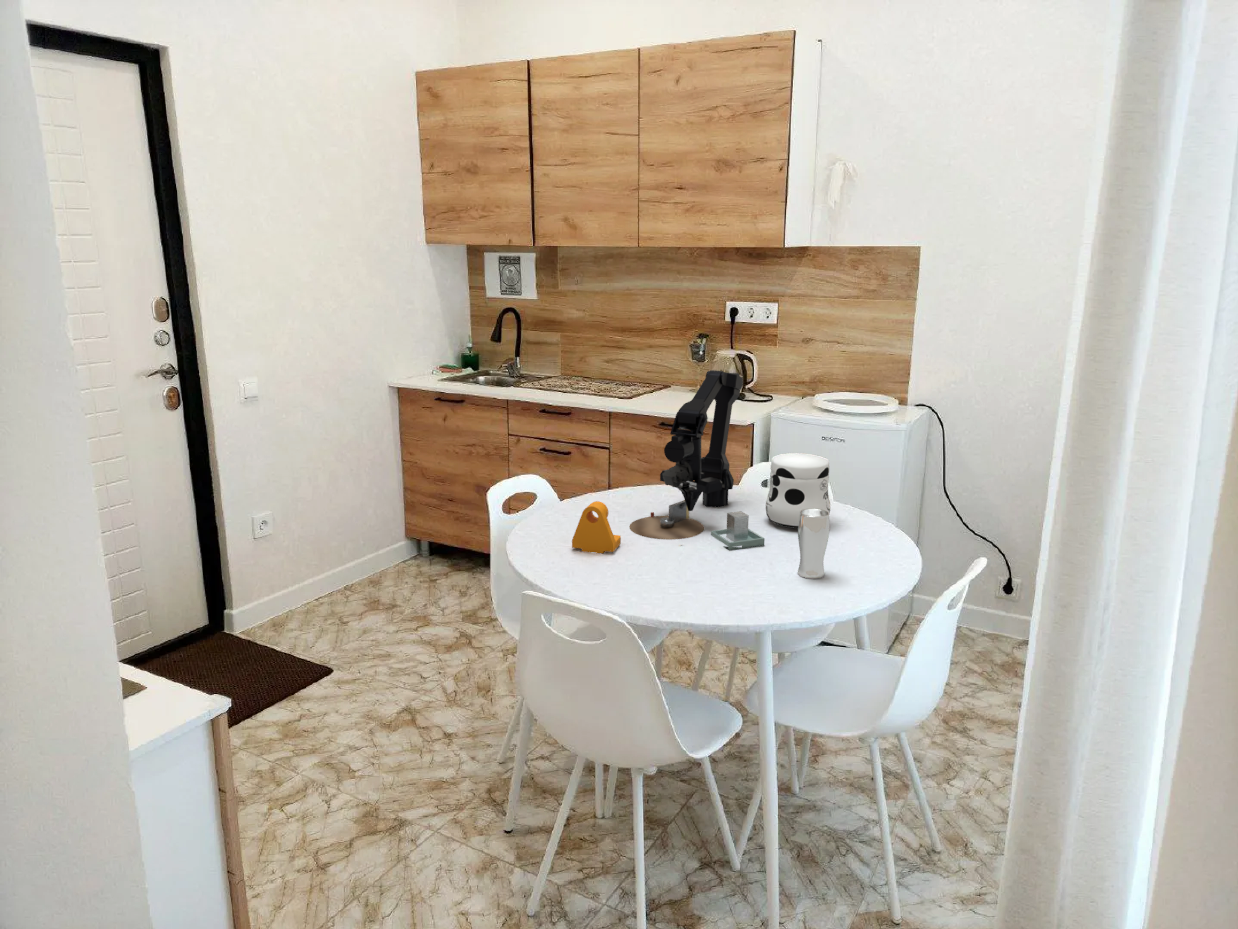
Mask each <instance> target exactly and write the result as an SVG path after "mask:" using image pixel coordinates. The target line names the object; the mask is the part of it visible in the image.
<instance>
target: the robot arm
mask: <svg viewBox="0 0 1238 929" xmlns="http://www.w3.org/2000/svg"><path fill="white" fill-rule="evenodd" d="M743 385H744V380H743V378H742V377H741V375H740V374H739V373H738V372H726V371H724V370H713V369H711V370H707V371H706V373H705V378H704V379H703V381H702V383H701V385H700V387H699V388H698V389H697V391H696V393H695V395H694V396H693V398H692V399H691V400H690V401H687V402H685V403H683V405H682V406H680V408H679V409H678V410H677V412H676V413H675V418H674V420H673V424H672V427H671V430H670V435H671V438H670V439H671V440H670V441H668V442H667V443H666V444H665V446H664V450H663V451H664V452H663V454H664V457H665V459H667V460H668V461H669V462H671V463H675V464H674V466H671V467H670V468H668V469H664V470H662V471H661V472H660V474H659V482H663V483H664V484H665V486H671V487H672V488H676V489H677V490H679V491H680V492H681V494H682V497H683V500H685V502H686V505H687V508H688V511H689V512H693V510H694V509H695V507H696V504H697V502H698V500H699V498H700V497H701V496H702V506H704V507H706V508H724V507H726V506H728V505H729V490H733V487H734V481H735V480H734V477H733V474H732V473H731V470H730V462H729V460H728V458H727V455H726V451H727V444H728V436H729V431H730V430H729V429H730V424H731V415H732V409H733V404H734V403H735V402H736V401H737V400H738V398H739V397H740V393H741V390H742V389H743ZM714 400H715V401H714ZM713 401H714V402H715V407H714V412H713V420H712V425H711V426H712V428H711V435H710V442H709V446H708V447H709V448H708V453H707V454H706V455H705V456H702V436H704V431H705V428H706V425H707V423H708V419H709V418H708V417H709V416H708V414H707V413H708V411H709V408H710V406H711V405H712V403H713Z"/></svg>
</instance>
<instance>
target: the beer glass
mask: <svg viewBox="0 0 1238 929" xmlns="http://www.w3.org/2000/svg"><path fill="white" fill-rule="evenodd" d="M797 537H798V538H797V539H798V548H799V557H800V558H799V560H800V561H799V565H798V570H797V574H798V576H799V577H802V578H804V577H805V579H808V578H809V580H817V579H818V578H819V579H822V578H824V577H825V574H826V573H825V565H824V560H825V554H826V549H827V546H828V542H829V539H830V538H829V537H830V514H829V512H828V511H825V510H822V509H816V508H808V509H803V510H801V511H800V517H799V524H798V528H797ZM821 577H822V578H821Z"/></svg>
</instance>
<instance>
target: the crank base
mask: <svg viewBox="0 0 1238 929" xmlns="http://www.w3.org/2000/svg"><path fill="white" fill-rule="evenodd" d="M665 517H668V518H669V515H655V513H654V512H653V511H651V512H650V516H647V517H641V518H638V519H635V520H633V521H632V522H631V523H630V524H629V530H630V531H631V532H632V533H633V534H635V535H638V536H640V537H644V538H648V539H654V540H655V539H656V540H667V541H668V540H671V541H672V540H682V539H689V538H693V537H696V536H699V535H700V534H702V533H703V532H704V531H705V526H704V524H703V523H702V522H700V521H698V520H695V519H693V518H690V517H689V518H688V519H685V520H682V521H680V522H677V523H674V526H673V527H662V526H660V519H661V518H665Z"/></svg>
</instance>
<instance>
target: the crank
mask: <svg viewBox="0 0 1238 929" xmlns="http://www.w3.org/2000/svg"><path fill="white" fill-rule="evenodd" d="M668 516H669V518H668V517H665V518H661V519H660V526H662V527H673V526H674V523H677V522H680V521H682V520H685V519H688V518H690V511H688V508H687V505H686V502H685V499H682V500H680V501H678V502H674V503H672V504H670V505H668Z"/></svg>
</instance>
